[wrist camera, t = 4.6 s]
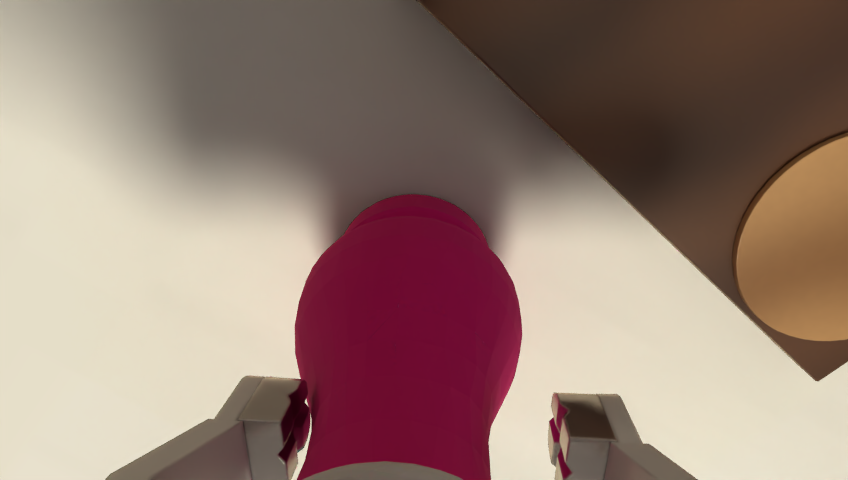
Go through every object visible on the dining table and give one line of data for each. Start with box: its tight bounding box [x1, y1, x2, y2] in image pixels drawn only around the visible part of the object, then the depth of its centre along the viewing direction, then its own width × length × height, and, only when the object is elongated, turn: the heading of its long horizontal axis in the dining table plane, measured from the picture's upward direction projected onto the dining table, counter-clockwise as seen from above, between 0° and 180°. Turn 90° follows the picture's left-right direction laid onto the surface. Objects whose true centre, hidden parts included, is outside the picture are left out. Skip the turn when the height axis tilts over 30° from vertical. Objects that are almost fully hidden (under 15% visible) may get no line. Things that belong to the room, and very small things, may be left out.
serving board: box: [416, 0, 848, 381], centre depth 16 cm, size 22×12×2 cm, turn 49°
